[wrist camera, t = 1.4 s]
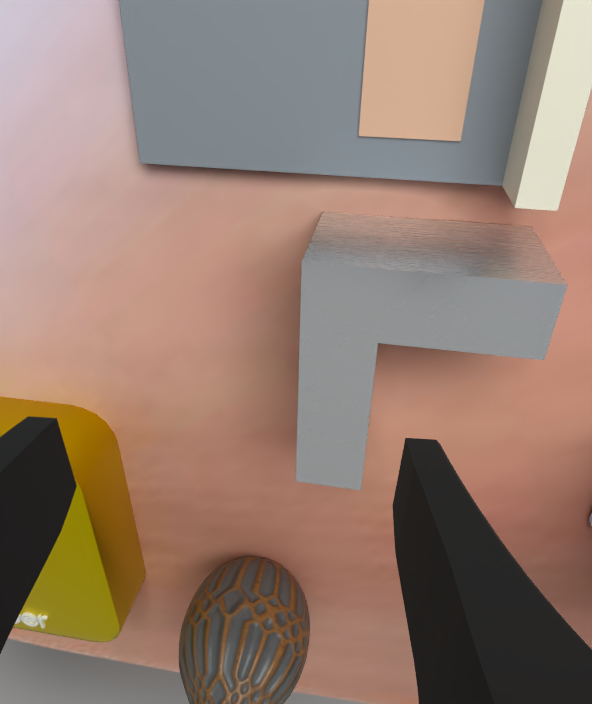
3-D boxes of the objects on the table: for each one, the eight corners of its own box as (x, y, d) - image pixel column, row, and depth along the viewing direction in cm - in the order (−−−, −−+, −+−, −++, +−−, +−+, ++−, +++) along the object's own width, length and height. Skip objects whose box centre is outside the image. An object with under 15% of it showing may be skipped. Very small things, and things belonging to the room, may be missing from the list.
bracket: (481, 423, 24) (497, 509, 20) (314, 403, 25) (295, 481, 21) (532, 226, 19) (567, 284, 15) (322, 211, 20) (301, 262, 16)
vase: (182, 566, 33) (119, 722, 26) (256, 521, 30) (208, 685, 23) (263, 625, 35) (226, 787, 28) (341, 589, 32) (322, 761, 24)
